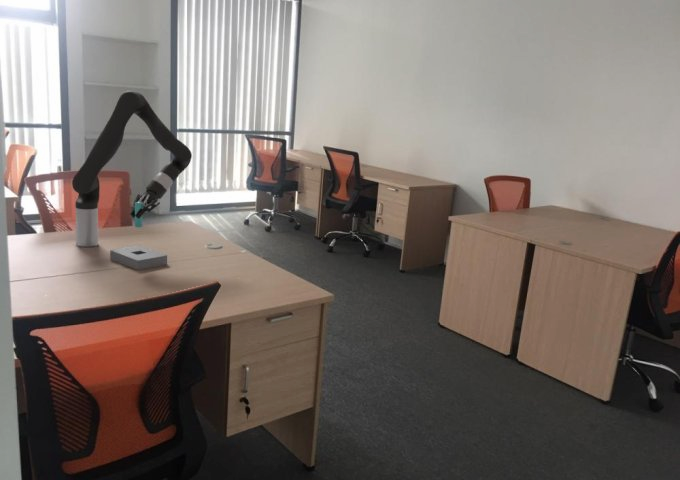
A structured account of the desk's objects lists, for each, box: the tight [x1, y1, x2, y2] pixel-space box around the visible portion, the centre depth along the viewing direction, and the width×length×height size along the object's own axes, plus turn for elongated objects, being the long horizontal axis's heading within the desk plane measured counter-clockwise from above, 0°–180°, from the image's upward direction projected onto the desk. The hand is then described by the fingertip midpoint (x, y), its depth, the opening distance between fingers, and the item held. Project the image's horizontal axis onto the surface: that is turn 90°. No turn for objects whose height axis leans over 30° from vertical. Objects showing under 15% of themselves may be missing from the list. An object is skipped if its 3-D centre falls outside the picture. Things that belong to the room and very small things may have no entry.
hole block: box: [109, 245, 168, 271], centre depth 248 cm, size 20×14×4 cm
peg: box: [134, 202, 143, 228], centre depth 244 cm, size 3×3×10 cm
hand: (134, 216), depth 243 cm, fingers closed on peg, 3 cm apart
